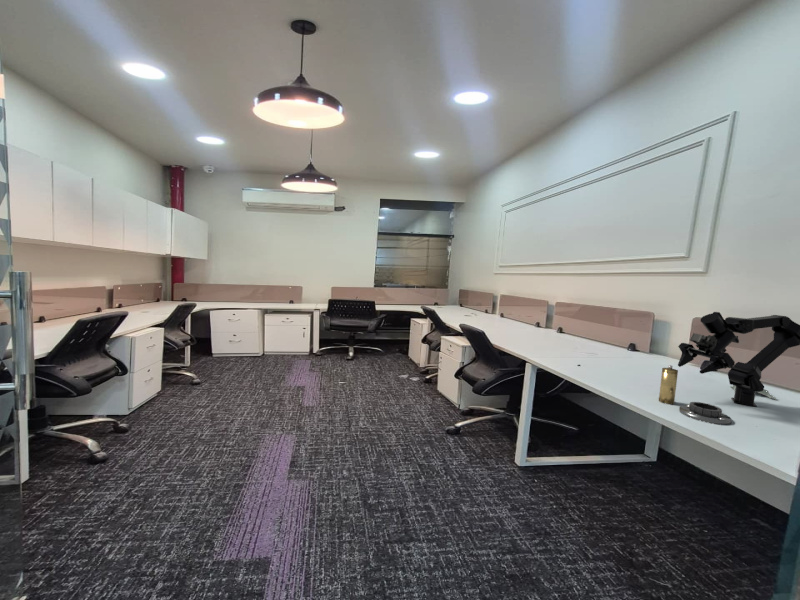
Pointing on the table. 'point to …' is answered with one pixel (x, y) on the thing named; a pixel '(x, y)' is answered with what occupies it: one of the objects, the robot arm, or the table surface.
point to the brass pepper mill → (668, 385)
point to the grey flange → (705, 413)
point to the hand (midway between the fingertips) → (689, 369)
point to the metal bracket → (759, 392)
